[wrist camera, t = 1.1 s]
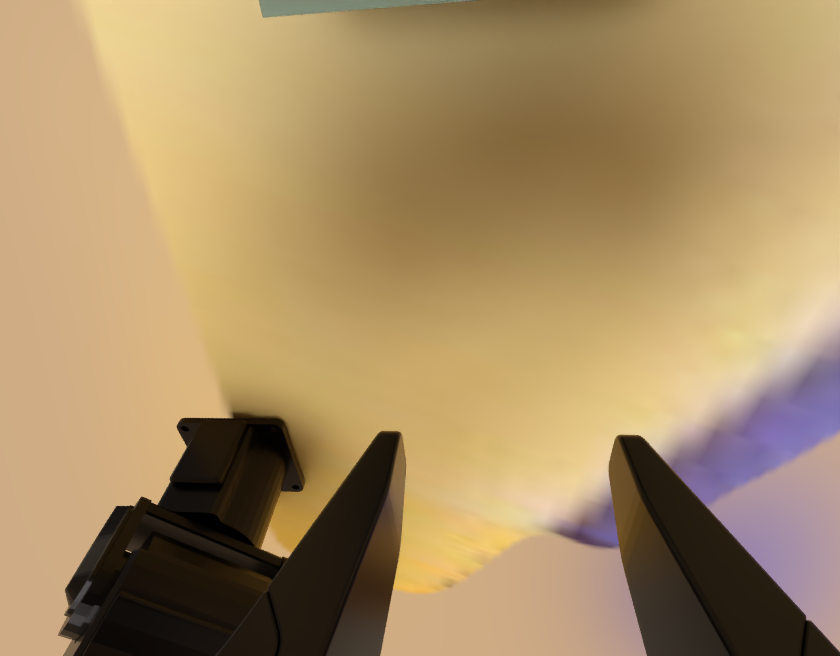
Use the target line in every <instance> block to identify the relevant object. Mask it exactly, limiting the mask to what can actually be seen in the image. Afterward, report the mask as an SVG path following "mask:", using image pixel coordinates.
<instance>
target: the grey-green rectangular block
mask: <svg viewBox="0 0 840 656" xmlns="http://www.w3.org/2000/svg"><path fill="white" fill-rule="evenodd" d="M463 1H475V0H259V3H260V7H261V12H262V16H263V18H264V17H277V16H289V15H302V14H314V13H326V12H339V11H351V10H364V9H376V8H388V7H401V6H413V5H426V4H438V3H450V2H463Z"/></svg>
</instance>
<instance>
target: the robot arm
mask: <svg viewBox="0 0 840 656" xmlns="http://www.w3.org/2000/svg"><path fill="white" fill-rule="evenodd" d="M177 429H178V431H179V433H180V435H181V437H182V438H183V440H184V442H185V444H186V446H187V448H186V450H185V452H184V454H183V455H182V457H181V459H180V461H179V463H178V465H177V466H176V468H175V469H174V471H173V473H172V475H171V477H170V481H171V482H170V483H169V486H168V487H167V489H166V491H165V493H164V494H163V496H162V498H161V500H160V501H159V503H158V505H156V504H154V503H151V500H149V499H147V498H144V497H141V498H140V499H139V501H138V502H137V503H136V505H135V506H131V505H130V506H116V508H115V509H114V511H113V512H112V514H111V516H110V517H109V519H108V520H107V522H106V523H105V525H104V527H103V528H102V530H101V531H100V533H99V535H98V536H97V538H96V539H95V541H94V543H93V544H92V546H91V548H90V549H89V551H88V552H87V554H86V556H85V557H84V559H83V561H82V562H81V564H80V566H79V567H78V569H77V571H76V572H75V574H74V576H73V577H72V579H71V580H70V582H69V584H68V585H67V587H66V589H65V593H66V597H67V601H68V605H69V607H68V609H67V610H66V612H65V614H64V615H65V616H67V618H66V620H65V622H64V624H63V626H62V628H61V630H60V632H59V634H58V635H59V636H62V637H65V638H68V639H72V641H71V643H70V645H69V646H68V648H67V650H66V652H65V653H64V655H63V656H380V653H381V649H382V642H383V637H384V633H385V627H386V622H387V617H388V611H389V606H390V601H391V595H392V590H393V585H394V580H395V574H396V569H397V564H398V558H399V552H400V544H401V533H402V519H403V504H404V490H405V476H406V458H405V451H404V444H403V437H402V434H401V432H398V431H381V432H379V433H378V434H377V436H376V437H375V438H374V440H373V441H372V442H371V444H370V445H369V447H368V448H367V449H366V451H365V452H364V454H363V455H362V456H361V458H360V459H359V461H358V462H357V463H356V465H355V466H354V467H353V469H352V470H351V472H350V473H349V474H348V476H347V477H346V479H345V480H344V481H343V483H342V484H341V486H340V487H339V488H338V490H337V491H336V493H335V494H334V495H333V497H332V498H331V499H330V501H329V502H328V504H327V505H326V506H325V508H324V509H323V511H322V512H321V513H320V515H319V516H318V518H317V519H316V520H315V522H314V523H313V524H312V526H311V527H310V529H309V530H308V531H307V533H306V534H305V536H304V537H303V538H302V540H301V541H300V543H299V544H298V545H297V547H296V548H295V550H294V551H293V552H292V554H291V555H290V557H289V558H285V557H282V558H281V557H278V556H276V555H274V554H271V553H269V552H267V551H264V550H262V549H261V546H262V543H263V540H264V538H265V535H266V532H267V529H268V526H269V523H270V521H271V518H272V515H273V512H274V509H275V506H276V503H277V500H278V498H279V495H280V492H281V491H290V492H300V491H302V490H303V488H304V485H305V481H304V479H303V476H302V473H301V470H300V467H299V464H298V462H297V459H296V456H295V453H294V450H293V447H292V444H291V442H290V439H289V436H288V433H287V430H286V427H285V425H284V423H283V422H282V421H280V420H277V419H233V418H182V419H181V420H180V421H179V423H178V425H177ZM609 479H610V486H611V493H612V500H613V507H614V513H615V520H616V527H617V534H618V541H619V547H620V552H621V558H622V563H623V567H624V571H625V575H626V578H627V583H628V586H629V590H630V593H631V597H632V601H633V605H634V609H635V613H636V616H637V620H638V624H639V628H640V631H641V635H642V639H643V643H644V646H645V650H646V654H647V656H840V652H839V651H838V650H837V649H836V647H835V646H834V645H833V644H832V643H831V642H830V641H829V640H828V639H827V638H826V637H825V636H824V634H823V633H822V632H821V631H820V630H819V629H818V628H817V627H816V626H815V625H814V624H813V623H812V621H809V620H807V621H806V615H805V614H804V613H803V612H802V611H801V610H800V608H799V607H798V606H797V605H796V604H795V603H794V602H793V601H792V600H791V599H790V598H789V597H788V595H787V594H786V593H785V592H784V591H783V590H782V589H781V588H780V587H779V586H778V584H777V583H776V582H775V581H774V580H773V579H772V578H771V577H770V576H769V575H768V574H767V572H766V571H765V570H764V569H763V568H762V567H761V566H760V565H759V564H758V563H757V561H756V560H755V559H754V558H753V557H752V556H751V555H750V554H749V553H748V552H747V551H746V550H745V548H744V547H743V546H742V545H741V544H740V543H739V542H738V541H737V540H736V539H735V537H734V536H733V535H732V534H731V533H730V532H729V531H728V530H727V529H726V528H725V527H724V525H723V524H722V523H721V522H720V521H719V520H718V519H717V518H716V517H715V516H714V514H712V512H711V511H710V510H709V509H708V508H707V507H706V506H705V505H704V504H703V502H702V501H701V500H700V499H699V498H698V497H697V496H696V495H695V494H694V493H693V492H692V490H691V489H690V488H689V487H688V486H687V485H686V484H685V483H684V482H683V481H682V479H681V478H680V477H679V476H678V475H677V474H676V473H675V472H674V471H673V470H672V469H671V467H670V466H669V465H668V464H667V463H666V462H665V461H664V460H663V459H662V458H661V457H660V455H659V454H658V453H657V452H656V451H655V450H654V449H653V448H652V447H651V446H650V445H649V443H648V442H647V441H646V440H645V439H644V438H643V437H641V436H639V435H618V436H617V437H616V438H615V441H614V445H613V449H612V453H611V457H610V461H609ZM125 550H128V551H130V552H132V553H129V552H127V551H125Z"/></svg>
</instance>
